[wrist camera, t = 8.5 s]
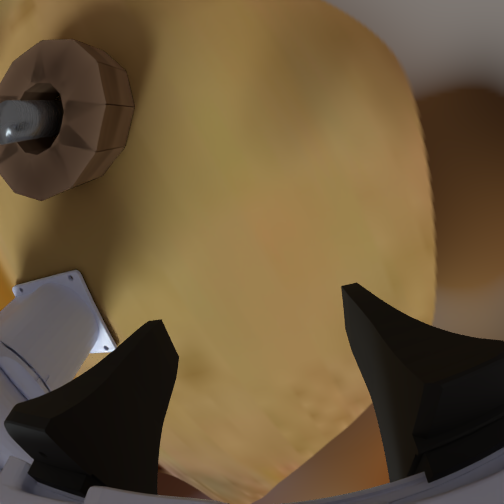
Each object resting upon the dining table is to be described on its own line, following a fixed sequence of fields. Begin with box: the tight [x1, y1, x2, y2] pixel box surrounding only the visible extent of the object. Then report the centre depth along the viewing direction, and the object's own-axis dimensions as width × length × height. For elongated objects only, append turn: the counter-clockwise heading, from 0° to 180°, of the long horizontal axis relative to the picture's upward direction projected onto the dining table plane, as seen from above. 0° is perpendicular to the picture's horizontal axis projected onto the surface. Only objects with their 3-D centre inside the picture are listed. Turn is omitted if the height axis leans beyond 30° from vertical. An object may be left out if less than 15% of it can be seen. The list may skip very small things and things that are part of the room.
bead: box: [0, 39, 135, 201], centre depth 15 cm, size 10×10×4 cm
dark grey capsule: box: [0, 100, 64, 145], centre depth 14 cm, size 2×2×7 cm
